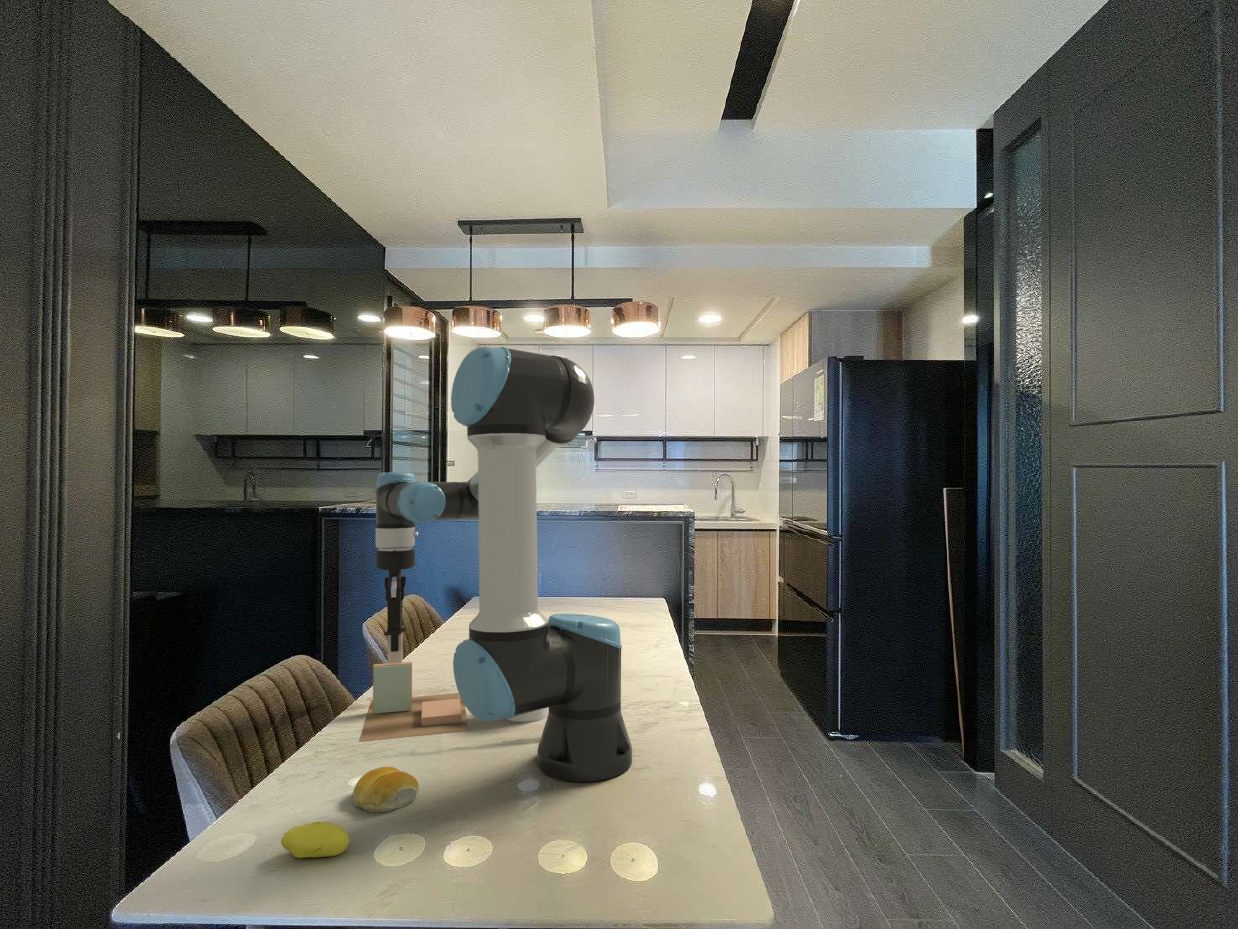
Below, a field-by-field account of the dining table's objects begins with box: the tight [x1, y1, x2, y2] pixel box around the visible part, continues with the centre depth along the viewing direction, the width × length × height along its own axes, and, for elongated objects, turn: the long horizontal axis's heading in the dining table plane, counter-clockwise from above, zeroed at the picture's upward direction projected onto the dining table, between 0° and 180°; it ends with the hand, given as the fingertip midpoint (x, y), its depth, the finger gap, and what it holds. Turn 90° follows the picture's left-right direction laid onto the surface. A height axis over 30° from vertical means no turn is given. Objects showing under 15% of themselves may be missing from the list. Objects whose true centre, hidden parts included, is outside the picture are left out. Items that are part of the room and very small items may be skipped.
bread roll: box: [352, 766, 420, 813], centre depth 94 cm, size 8×9×4 cm
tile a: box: [421, 699, 462, 726], centre depth 124 cm, size 2×7×9 cm
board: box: [359, 692, 469, 743], centre depth 125 cm, size 22×18×1 cm
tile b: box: [372, 661, 413, 714], centre depth 127 cm, size 2×7×9 cm, turn 105°
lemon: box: [280, 821, 350, 859], centre depth 80 cm, size 4×8×4 cm, turn 87°
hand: (394, 666), depth 134 cm, fingers closed
